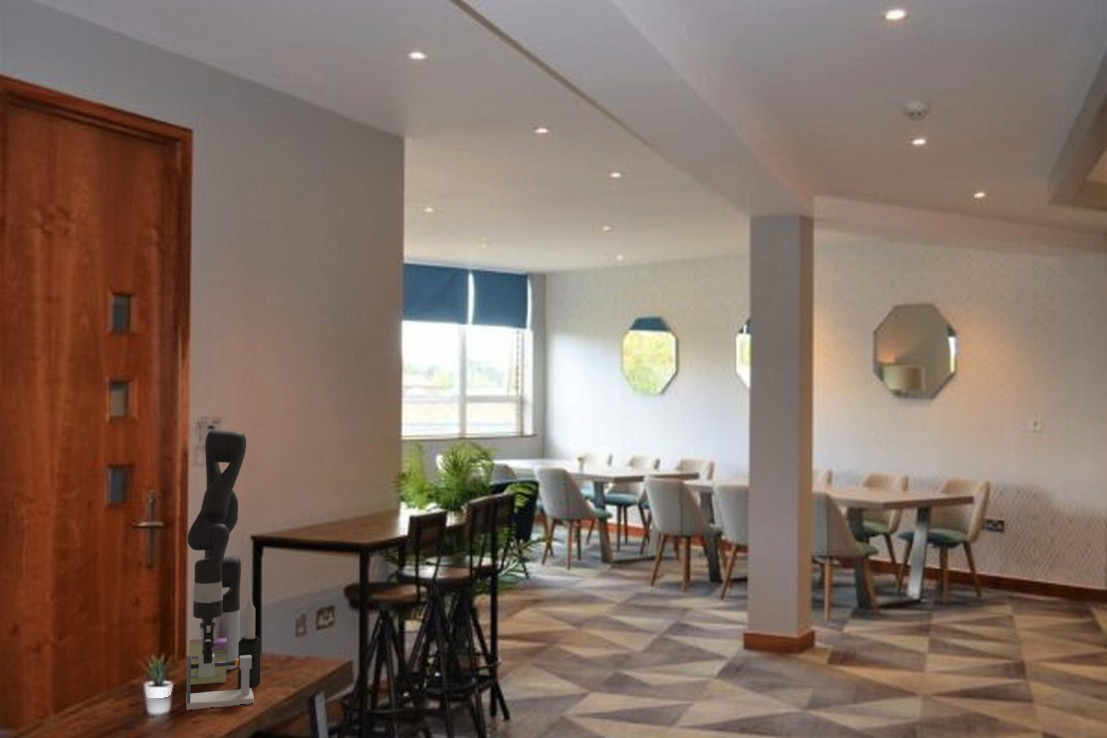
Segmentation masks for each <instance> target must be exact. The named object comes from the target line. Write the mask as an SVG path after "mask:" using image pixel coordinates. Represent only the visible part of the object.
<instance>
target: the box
mask: <svg viewBox="0 0 1107 738" xmlns="http://www.w3.org/2000/svg"><path fill="white" fill-rule="evenodd" d="M213 644H214V646H213V649H212V654H214V655H215V662H226V661H227V638H215V640H214V641H213ZM188 645H189V646H188V656H190V658H191V664H199V655H202V641H201V638H199V639H189V644H188ZM226 667H227V666H221V667H215V676H208V677H199V674H198V672H199V668H196V669H191V685H192V686H193V685H206V684H221V683H223V684H224V683H225V684H226V683H227V670H226Z"/></svg>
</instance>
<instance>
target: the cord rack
mask: <svg viewBox="0 0 1107 738" xmlns="http://www.w3.org/2000/svg"><path fill="white" fill-rule="evenodd" d="M233 665H235V667H237V668H238V667H239V668H240V670H241V687H240V689H239V688H238V689H228V690H218V691H217V690H216V691H205V692H195V693H193V692H192V693H191V687H192V686H191V669H196V668H199V664H191V658H190V656H189V655H187V656H186V694H185V702H186V703H185V704H186V711H188V710H190V711H191V709H192V710H202V709H212V708H211V707H214V708H222V707H223V708H224V707H233V706H234V705H236V706H241V705H240V704H246V705H254V704H255V697H254V693H253V690H252V689H253V688H249V669H252V657H251V655H244V656H239V659H235V661H226V662H215V667H221V666H233ZM251 703H253V704H251ZM234 707H235V706H234Z"/></svg>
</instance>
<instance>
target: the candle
mask: <svg viewBox="0 0 1107 738" xmlns="http://www.w3.org/2000/svg"><path fill="white" fill-rule="evenodd" d="M253 604H254V603H253V600H252V597H251V596H250V597H248V602H247V604H246V607H245V608H244V626H243V627H244V629H243V632H244V635H243V637H240V639H239V643H238V659H239V656H244V655H251V657H252V669H249V688H251V689H253V688H252V687H254V688H256V687H257V686H259V685H258V684H260V685H261V647H262V646H261V638H259V637H258V636H256V607H255V606H254V605H253ZM237 687H238V688H241V670H240V668H239V667H237Z"/></svg>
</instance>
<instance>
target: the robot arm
mask: <svg viewBox="0 0 1107 738" xmlns="http://www.w3.org/2000/svg"><path fill="white" fill-rule="evenodd" d="M204 445H205V446H204V448H205V449H204V451H205V453H204V454H205V455H204V456H205V472H206V490H205V492H204V494H203V498H202V503H201V508H200V510H199V511H200V512H199V513H198V515H197V516H196V518H195V519H194V521H193V523H192V524H191V526H190V529H189V530H188V534H187V544H188V546H189V548H190V549H191V550H193V551H204V558H202V559H199V560H197V561H196V562H195V563H194V584H193V589H192V590H193V592H192V594H193V595H192V597H193V598H192V616H193V617H194V618H195V619H201V623H199V632H200V639H201V641H202V654H203V662H204V664H209V663H212V649H213V646H214V644H213V641H214V640H215V638H227V661H235V659H238V643H239V641H240V631H241V630H240V626H241V625H240V624H241V622H240V621H241V619H240V618H241V617H240V613H241V612H240V611H241V609H240V607H241V606H240V605H241V602H240V598H241V597H240V595H241V593H240V591H241V580H242V579H241V577H242V561H241V559H240V557H239V556H234V555H233V556H225V553H226V550H227V547H228V543H229V541H230V533H232V531H234V530H233V529H235V527H236V525H237V523H238V518H239V499H238V497H237V495H236V493H235V492H234V490H233V489H234V486H235V485H236V481H237V478H238V477H239V473H240V470H241V468H242V465H243V462H244V459H245V454H246V451H247V450H246V449H247V439H246V435H245V433H244V432H240V431H235V430H234V431H233V430H219V429H212V430H210V431H208V433H207V435H206V438H205V443H204ZM220 463H224V464H225V463H227V464H228V466H227V467H226V468H225V469H224V470H223V471H222V470H221V468H220V467H221V466H220ZM223 588H229V589H228V590H227V591H226V592H225V593H224V594H223V591H224V590H223ZM236 668H237V669H238V667H235V665H233V666H227V667H226V671H229V670H233V669H236Z"/></svg>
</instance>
